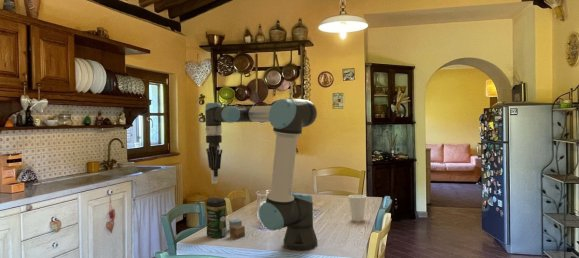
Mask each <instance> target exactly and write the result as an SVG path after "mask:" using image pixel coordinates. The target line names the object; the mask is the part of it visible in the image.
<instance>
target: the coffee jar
mask: <svg viewBox="0 0 579 258" xmlns="http://www.w3.org/2000/svg"><path fill="white" fill-rule="evenodd" d="M205 202H206V203H205V208H206V209H205V210H206V236H207V237H209V238H214V239H219V238H224V237H226V236H227V235H228V229H227V219H226V218H227V217H226V209H227V201H226V199H225V198H221V197H220V198H218V197H211V198H207V199H206V201H205Z"/></svg>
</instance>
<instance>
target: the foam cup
mask: <svg viewBox="0 0 579 258" xmlns="http://www.w3.org/2000/svg"><path fill="white" fill-rule="evenodd" d="M348 201H349V203H348V204H349V210H350V216H351V220H352V221H353V222H363V221H364V219H365V211H366V202H367V196H366V195H363V194H349V195H348Z"/></svg>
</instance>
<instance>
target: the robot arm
mask: <svg viewBox="0 0 579 258" xmlns="http://www.w3.org/2000/svg"><path fill="white" fill-rule="evenodd" d="M204 114H205V128H204V130H205V134H206V135H205V142H206V144H208V147H207V148H206V154H207V155H206V156H207V163H208V168H209V169H210V170H211V171H210V172H211V184H212V185H213V184H218V183H219V170H220V169H221V164H222V163H221V162H222V154H223V149H220V144H221V143H222V142H223V141H222V140H223V138H222V137H223V136H222V131H223V130H222V129H223V127H222V123H229V124H230V123H233V124H234V123H259V122H260V123H269V124H270V125H271V126H272V127H273V128H272V129H273V130H272V131H273V133H274V134H275V135H276V137H275V144H274V145H275V147H274V154H273V155H274V156H273V165H272V174H271V175H272V176H271V184H270V192H268V193H267V194H266V196H265V197H266V199H265V202H263V203H262V204H261V205H260V206H259V210H258V214H259V219H260V222H261V223H262V224H263V226H264V227H265V228H266V229H267V230H270V231H277V230H278V231H280V230H282V229H284V228H286V229H285V230H286V231H285V234H284V238H283V242H282V244H283V247H284V248H285V249H288V250H292V251H306V250H312V249H315V248H316V247H318V238H317V235H316V233H315V228H314V207H313V205H314V203H313V202H314V201H313V196H312V195H311V194H309V193H303V192H292V191H293V190H292V189H293V180H294V172H295V170H294V169H295V162H296V154H297V153H296V151H297V143H298V137H300V136H301V135H302V132H303V128H306V127H309V126H311V125H313V123H315V121H316V119H317V117H318V110H317V107H316V106H315V104H314V103H313V102H312V101H310V100H308V99H305V98H304V99H301V98H299V99H298V98H297V99H296V98H282V99H281V98H280V99H278V100H276V101H275V102H274V103H273V104H272V105H260V106H259V105H258V106H235V105H234V106H233V105H227V106H222V104H221V103H220V102H207V103H206V104H205V110H204Z"/></svg>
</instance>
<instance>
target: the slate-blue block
mask: <svg viewBox="0 0 579 258" xmlns="http://www.w3.org/2000/svg"><path fill="white" fill-rule="evenodd" d="M228 220H229V221H228V225H229V227H228V228H229V231H230V227H232V226H235V225H241V226H243V223H242V222H243V221H242V220H241V219H239V218H236V219H228Z"/></svg>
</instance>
